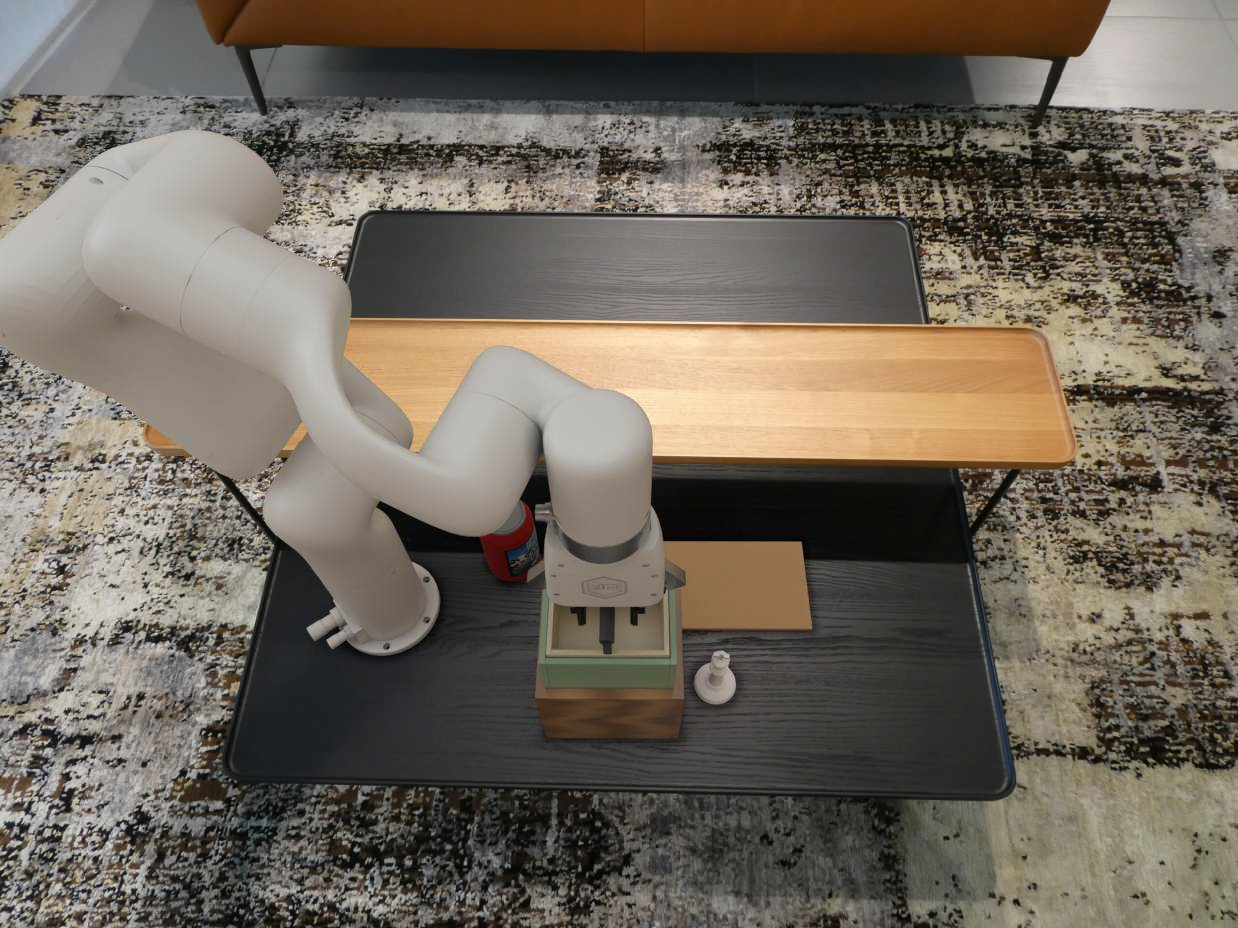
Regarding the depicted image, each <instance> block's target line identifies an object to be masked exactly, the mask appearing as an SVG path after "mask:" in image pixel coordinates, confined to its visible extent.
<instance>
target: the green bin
mask: <svg viewBox="0 0 1238 928" xmlns="http://www.w3.org/2000/svg"><path fill="white" fill-rule="evenodd" d="M668 608H669V649H670V656H669V659H648V658H547V656H546V645H547V628H548V612H549V597H548V594H547V589H544V590H543V604H542V620H541V635H540V650H539V667H540V671H541V674H542V678H543V682H544V686H545V688H552V689H674V685H675V677H676V669H677V645H676V611H675V589H673V590H668Z"/></svg>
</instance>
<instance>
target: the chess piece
mask: <svg viewBox="0 0 1238 928" xmlns="http://www.w3.org/2000/svg"><path fill="white" fill-rule="evenodd" d="M730 657H731V655H730V653H727V652H725V650H717V651H713V654H712V655H711V661H710V662H707V663H705V664H704V665H702V666H701V667H699V668H698V669H697V672H696V673H695V675H694V678H693V687H694V691H695V693H696V695H697V696H698V697H699V698H700V699H701V700H702V701H703V702H705V703H707V704H710V705H723V704H726V703H727V702H728V701H730V700H731V698H733V696H734V695H735V693H736V688H737V683H736V677H735V675H734V673H733V671H732V670H731V669H730V668H729V665H730V661H731V658H730Z"/></svg>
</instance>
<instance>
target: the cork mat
mask: <svg viewBox="0 0 1238 928" xmlns="http://www.w3.org/2000/svg"><path fill="white" fill-rule="evenodd" d="M663 544H664V557H665V558H667V559H668V560H670V561H671V562H673V563H674V564H675V565H677V566H678V567H680V568H681V569H683V570H684V571H685V572H686V585H685V586H683V587H679V588H676V589H680V590H681V613H682V631H794V632H795V631H801V632H803V631H807V632H808V631H809V632H811V631H812V630H813V621H812V614H811V605H810V599H809V591H808V590H809V589H808V581H807V574H806V566H805V559H804V550H803V543H802V541H698V540H697V541H677V540H676V541H671V540H670V541H668V540H666V541H664V540H663Z"/></svg>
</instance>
